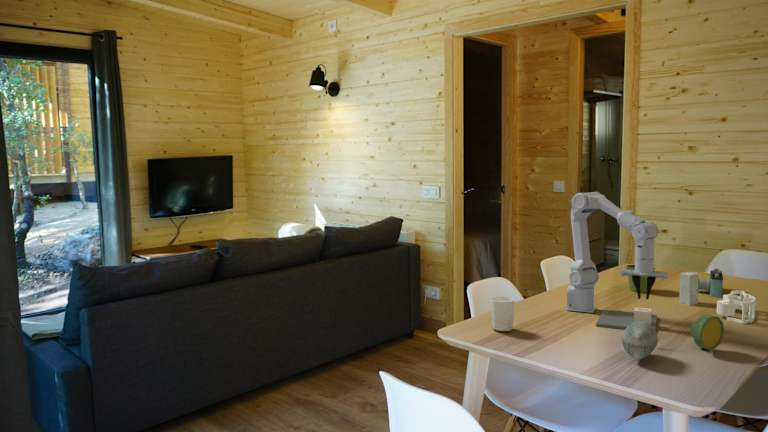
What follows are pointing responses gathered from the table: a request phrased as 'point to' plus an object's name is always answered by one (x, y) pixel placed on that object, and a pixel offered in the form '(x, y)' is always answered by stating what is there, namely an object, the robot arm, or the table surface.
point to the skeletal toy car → (737, 306)
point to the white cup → (502, 313)
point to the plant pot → (643, 281)
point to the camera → (713, 283)
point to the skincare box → (688, 288)
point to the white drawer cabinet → (643, 314)
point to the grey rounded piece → (639, 339)
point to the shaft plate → (619, 319)
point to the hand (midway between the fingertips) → (643, 298)
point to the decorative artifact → (707, 331)
